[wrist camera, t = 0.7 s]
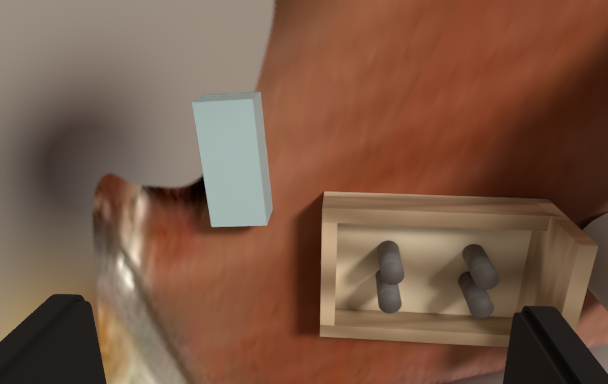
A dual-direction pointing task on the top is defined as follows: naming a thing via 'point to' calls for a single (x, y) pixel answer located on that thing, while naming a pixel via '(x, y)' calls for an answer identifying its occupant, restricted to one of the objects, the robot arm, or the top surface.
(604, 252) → the can
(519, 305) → the wooden drawer
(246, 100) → the block
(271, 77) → the top surface
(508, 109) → the top surface
